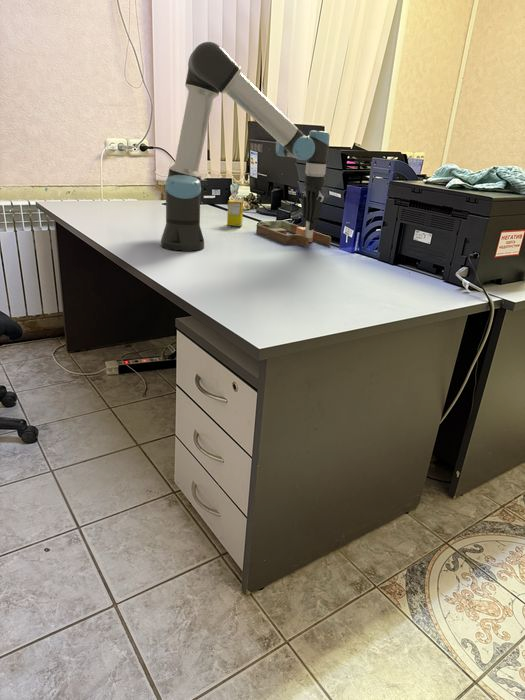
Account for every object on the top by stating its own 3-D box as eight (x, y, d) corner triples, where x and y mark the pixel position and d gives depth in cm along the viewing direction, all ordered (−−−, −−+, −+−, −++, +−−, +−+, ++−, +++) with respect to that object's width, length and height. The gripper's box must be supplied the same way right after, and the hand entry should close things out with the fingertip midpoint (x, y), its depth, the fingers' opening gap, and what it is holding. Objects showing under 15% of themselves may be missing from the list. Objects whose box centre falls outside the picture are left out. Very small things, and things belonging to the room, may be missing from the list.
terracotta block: (301, 242, 200) (302, 229, 198) (295, 239, 204) (296, 227, 202) (312, 242, 202) (313, 229, 200) (305, 239, 206) (307, 227, 204)
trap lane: (294, 248, 189) (295, 238, 188) (248, 229, 215) (248, 221, 214) (330, 245, 198) (331, 236, 196) (281, 228, 224) (282, 220, 222)
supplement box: (242, 225, 223) (243, 200, 219) (240, 228, 218) (241, 202, 213) (229, 224, 224) (230, 199, 219) (226, 226, 218) (228, 200, 214)
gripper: (333, 177, 187) (325, 240, 196) (312, 173, 197) (306, 234, 206) (317, 177, 183) (310, 241, 192) (297, 173, 193) (291, 234, 202)
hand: (308, 237), depth 199 cm, fingers closed
